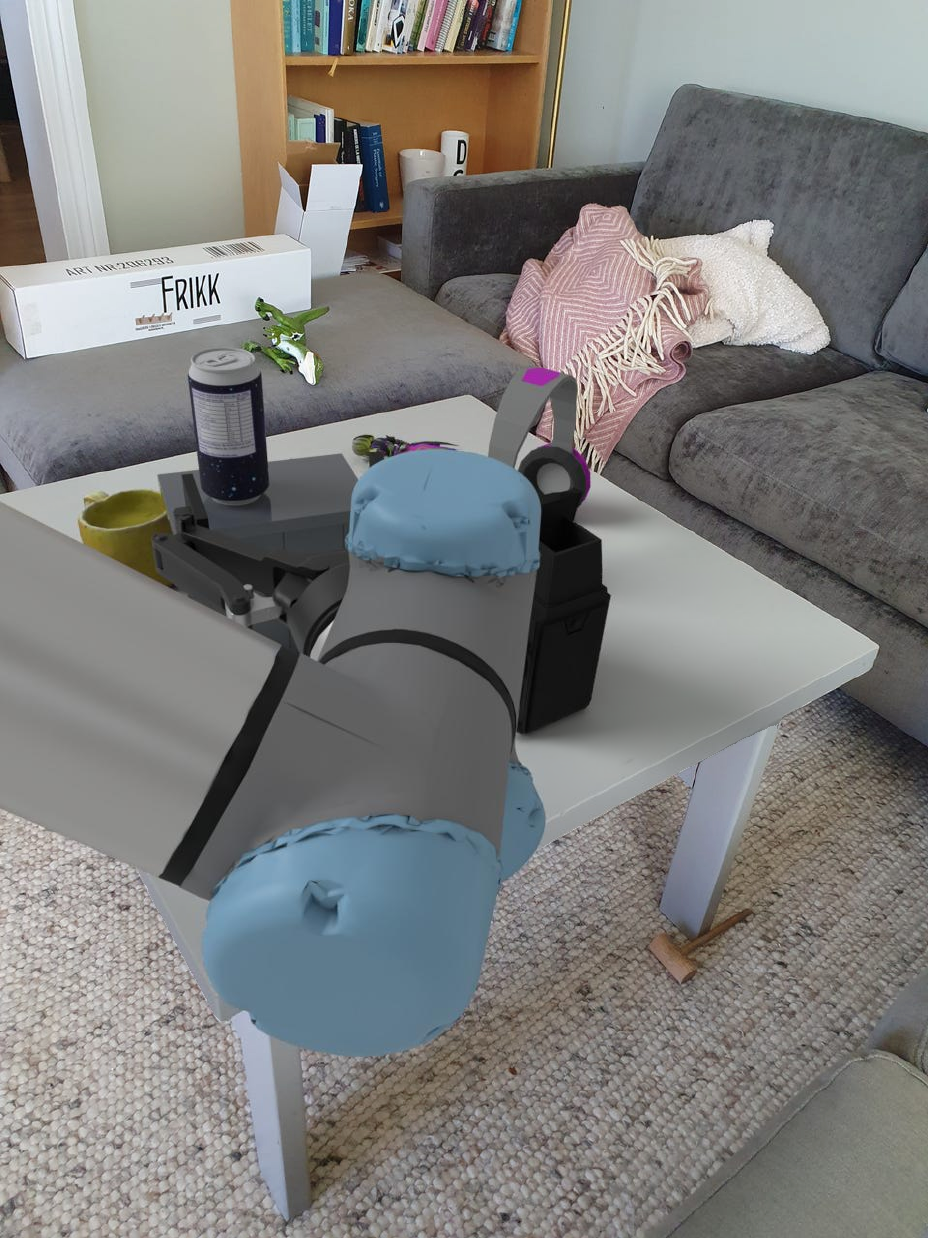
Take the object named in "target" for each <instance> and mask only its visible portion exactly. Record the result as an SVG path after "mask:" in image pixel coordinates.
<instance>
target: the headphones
mask: <svg viewBox="0 0 928 1238" xmlns="http://www.w3.org/2000/svg"><path fill="white" fill-rule="evenodd" d="M578 389H579V387H578V382H577V378H576V377H575V376H573V375H571V374H567V373H563V372H560V371H557V370H554V369H549V368H545V367H541V366H537V365H533V364H530V365H527V366H524V367H521V368H520V369H519V370H518V371H517V372H516V373H515V375H513V376H512V377H511V379H510V380H509V382H508V384H507V387H506V388H505V390H504V392H503V394H502V397H501V400H500V402H499V404H498V407H497V411H496V414H495V417H494V421H493V425H492V430H491V435H490V440H489V444H488V453H487V456H488V457H491V458H494V459H496V460H498V461H500V462H503V463H505V464H507V465H509V466H511V467H512V468H514V469H516V464H517V460H518V456H519V453H520V451H521V449H522V447H523V445H524V443H525V441H526V439H527V437H528V435H529V433H530V430H531V429H532V427H533V425H534V424H535V422H536V421H537V418H538V417H539V415H540V413H541V411H542V410H543V408H544V407H545V405H546V404H547V403H548V401H549V400H550V404H551V408H552V415H553V416H552V417H553V424H552V425H553V426H552V439H551V441H550V442H548V443H546V444H543V445H540V446H538V447H536V448H534V449H531V450H530V451H529V452H528V453H527V454H526V455H525V456H524V457H523V458H522V460H521V461H520V463H519V466H518V469H517V471H518V472H520V473H521V474H522V475H523V476H525V477H526V478H527V479H528V480H529V481H530V483H531V484H532V485H533V487H534V488H535V490H536V492H537V494H538V496H542V495H545V494H549V493H552V492H563V491H567V490H571V489H572V488H573V487H574V488H576V489H579V490H581V491H583V493H582V496H581V499H580V502H579V506H578V508H580V506H582V504H583V502H584V501H585V500H586V499H587V496H588V494H589V492H590V489H591V484H592V483H591V470H590V468H589V466H588V463H587V461H586V459H585V458H584V457H583V456H582V455H581V454H580V452H578V450H577V449H575V448H574V438H575V430H576V424H577V404H578V391H579V390H578Z"/></svg>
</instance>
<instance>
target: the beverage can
mask: <svg viewBox="0 0 928 1238" xmlns="http://www.w3.org/2000/svg"><path fill="white" fill-rule="evenodd" d="M190 363H191V365H190V368H189V370H188V372H187V381H188V389H189V390H188V392H189V398H190V399H189V400H190V406H191V415H192V423H193V431H194V438H195V447H196V454H197V455H196V456H197V457H196V458H197V465H198V470H199V474H200V482H201V488H202V490H203V492H204V493H205V494H207V495H208V496H210V497H212V499H213V500H214V501H216V502H218V503H220V504H223V505H230V506H239V505H245V504H249V503H252V502H254V501H256V500H257V499H258V498H259V497H260V496H261V494H262V493H264V492H265V491H266V490H267V488H268V487H269V473H268V462H269V460H268V446H267V445H268V444H267V434H266V433H267V431H266V420H265V419H266V418H265V404H264V392H263V391H264V389H263V378H262V371H261V369H260V367H259V366H258V364H257V363H256V356H255V354H253V353H252V352H250V351H248V350H246V349H243V348H237V347H228V346H227V347H226V346H225V347H220V346H219V347H211V348H205V349H202V350H200V351H197V352H196V353H194V354H193V355H191V358H190Z"/></svg>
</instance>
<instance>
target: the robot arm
mask: <svg viewBox="0 0 928 1238" xmlns="http://www.w3.org/2000/svg"><path fill="white" fill-rule="evenodd" d="M368 459H369V461H368V462H369V468H368V469H366V471H365V472H363V473H362V474H361V476H360V477H359V478H358V481H357V483H356V485H355V487H354V490H353V492H352V498H351V513H350V528H349V533H348V535H347V536H346V538H345V547H346V548H342V549H338V550H335V551H332V552H328V553H310V554H304V555H303V556H301V555H299V554H296V553H293V552H290V551H287V550H284V549H282V548H276V549H275V550H273V551H272V552H271V551H268V550H266V549H263V548H260V547H257V546H254V545H252V544H249V543H246V542H243V541H241V540H238V539H235V538H232V537H229V536H227V535H224V534H221V533H218V532H215V531H213V530H210V529H209V522H208V517H207V514H206V511H205V508H204V505H203V502H202V499H201V496H200V494H199V491H198V488H197V485H196V482H195V479H194V476H193V473H190V474H182V475H181V476H182V483H183V490H184V498H185V505H186V507H179V508H175V509H174V511H173V514H174V521H175V528H176V532H177V533H176V534H175V535H173V536H171V535H170V534H167V533H158V534H155V535H153V536H152V537H151V540H152V547H153V553H154V559H155V565H156V570H157V573H158V574H160V575H161V576H162V577H164V578H165V579H167V580H168V581H170V582H171V583H173V585H174V586H175V587H177V588H178V589H179V588H180V589H181V590H183V591H184V592H186V593H187V594H188V595H190V596H191V597H193V598H194V599H196V600H197V601H198V602H200V603H201V604H200V603H198V602H196V601H194V600H192V599H190V598H188V597H187V596H185V595H183V594H181V593H179V591H177V590H175V589H173V588H171V587H167V586H165V585H163V584H161V583H159V582H157V581H155V580H153V579H151V578H149V577H147V576H145V575H143V574H141V573H140V572H138V571H136V570H134V569H132V568H130V567H128V566H126V565H124V564H122V563H120V562H118V561H116V560H114V559H112V558H110V557H108V556H106V555H104V554H102V553H100V552H98V551H96V550H94V549H93V548H91V547H89V546H87V545H85V544H83V542H82V541H79V540H77V539H75V538H73V537H71V536H70V535H67V534H65V533H64V532H61V531H59V530H57V529H55V528H53V527H51V526H49V525H47V524H45V523H44V522H41V521H40V520H38V519H36V518H34V517H32V516H30V515H28V514H26V513H24V512H22V511H20V510H19V509H16V508H14V507H12V506H10V505H9V504H6V503H4V502H3V501H0V810H3V811H4V812H7V813H9V814H12V815H14V816H17V817H19V818H21V819H23V820H26V821H27V822H29V823H33V824H35V825H37V826H38V827H39V826H40V827H41V828H44V829H46V830H48V831H50V832H53V833H55V834H58V835H60V836H62V837H64V838H67V839H69V840H71V841H74V842H76V843H78V844H80V845H83V846H85V847H88V848H90V849H92V850H94V851H96V852H99V853H101V854H103V855H105V856H108V857H111V858H112V859H115V860H117V861H119V862H122V863H124V864H125V865H128V866H131V867H133V868H135V869H138V870H139V871H142V872H145V873H147V874H149V875H151V876H153V877H156V878H158V879H161V880H163V881H166V882H168V883H171V884H173V885H175V886H178V888H180V889H182V890H184V891H186V892H188V893H190V894H192V895H194V896H196V897H198V898H201V899H203V900H206V901H208V902H209V903H208V905H207V907H206V912H205V917H206V922H205V926H204V930H203V933H202V940H201V950H200V951H201V959H202V960H201V961H202V964H203V969H204V971H205V973H206V975H207V978H208V980H209V982H210V985H211V987H212V988H213V990H214V991H215V993H216V994H217V996H218V997H219V998H220V999H221V1000H222V1002H223V1003H225V1004H227V1005H229V1006H230V1007H232V1008H233V1009H237V1010H240V1011H245V1012H247V1013H248V1015H249V1019H250V1022H251V1024H253V1026H254V1027H255V1028H256V1029H257V1030H258V1031H259V1032H262V1033H264V1034H265V1035H267V1036H269V1037H272V1038H274V1039H276V1040H278V1041H281V1042H283V1043H285V1044H287V1045H291V1046H294V1047H297V1048H301V1049H304V1050H307V1051H312V1052H317V1053H323V1054H328V1055H333V1056H339V1057H352V1058H368V1057H369V1058H370V1057H383V1056H387V1055H392V1054H397V1053H398V1054H399V1053H402V1052H407V1051H410V1050H413V1049H415V1048H417V1047H420V1046H421V1047H422V1045H425V1044H428V1043H429V1042H431V1041H432V1040H434V1039H435V1038H437V1037H439V1035H442V1033H444V1032H445V1031H446V1030H447V1029H449V1028H452V1026H453V1025H454V1024H455V1023H457V1022H458V1021H460V1020H461V1017H462V1016H463V1014H464V1013H465V1011H466V1010H467V1009H468V1007H469V1006H470V1003H471V1002H472V999H473V998H474V996H475V993H476V991H477V988H478V985H479V981H480V977H481V973H482V967H483V963H484V958H485V954H486V949H487V944H488V939H489V935H490V930H491V926H492V921H493V916H494V911H495V906H496V902H497V898H498V897H497V896H498V893H499V891H500V890H501V889H502V887H503V883H504V882H506V881H507V880H508V879H510V878H511V877H512V876H514V875H515V874H517V872H519V870H521V869H522V868H523V867H524V866H525V865H526V864H527V862H528V861H529V860H530V859H531V858H532V857H533V856H534V854H535V852H536V851H537V849H538V847H539V845H540V844H541V842H542V839H543V836H544V833H545V828H546V823H547V821H546V820H547V819H546V818H547V817H546V810H545V807H544V802H543V801H542V799H541V797H540V795H539V793H538V790H537V788H536V786H535V784H534V778H533V774H532V773H531V771H530V769H529V768H528V767H527V766H525V765H523V764H522V763H521V761H520V760H519V757H518V754H517V750H516V749H517V748H516V738H517V732H516V731H517V724H518V716H519V708H520V696H521V688H522V681H523V673H524V665H525V657H526V649H527V641H528V632H529V624H530V617H531V610H532V603H533V596H534V588H535V581H536V574H537V569H538V568H539V565H540V557H541V556H542V555H541V553H540V552H539V550H538V548H539V535H540V521H541V504H540V500H539V497H538V494H537V492H536V490H535V488H534V487H533V485H532V484H531V483H530V481H529V480H528V479H527V478H526V477H525V476H523V475H522V474H521V473H520V472H518V469H516V468H515V469H514V468H512V467H511V466H509V465H507V464H505V463H503V462H500V461H498V460H496V459H494V458H491V457H488V455H484V454H481V453H476V452H472V451H464V450H457V451H456V450H445V449H428V450H417V451H411V452H406V453H402V454H398V455H395V456H392V457H389V458H387V459H384V457H383V456H382V454H381V453H380V452H379V451H375V452H369V458H368ZM286 570H287V571H288V572H287V574H286ZM253 590H256V591H258V592H261V593H263V594H264V595H265V596H266V597H262V596H260V595H258V594H257V593H255V592H253ZM202 604H203V605H202ZM276 618H277V619H278V620H279V621H280V622H282V623H284V624H285V625H287V626H288V627H289V629H290V631H291V634H292V636H293V639H294V641H295V644H296V646H297V649H298V651H299V653H300V654H298V653H297V652H295V651H293V650H291V649H289V648H287V647H285V646H283V645H281V644H279V643H277V642H275V641H273V640H271V639H269V638H267V637H265V636H263V635H261V634H259V633H257V632H255V631H253V624H256V623H260V622H264V621H268V620H272V619H276Z"/></svg>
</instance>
